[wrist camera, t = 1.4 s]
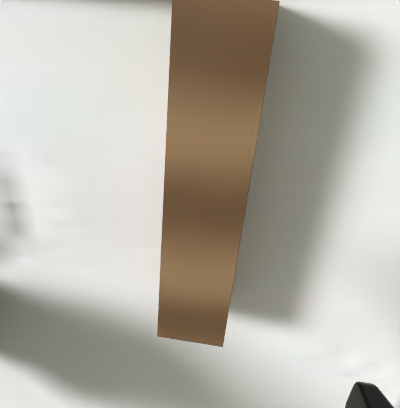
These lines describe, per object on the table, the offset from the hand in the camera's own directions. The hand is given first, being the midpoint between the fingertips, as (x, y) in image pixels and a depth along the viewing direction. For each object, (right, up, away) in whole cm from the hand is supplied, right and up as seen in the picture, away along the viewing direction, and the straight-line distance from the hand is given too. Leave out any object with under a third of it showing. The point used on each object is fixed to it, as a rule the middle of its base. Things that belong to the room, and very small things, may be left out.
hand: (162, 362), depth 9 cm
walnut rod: (+2, +5, +11) cm, 12 cm away
